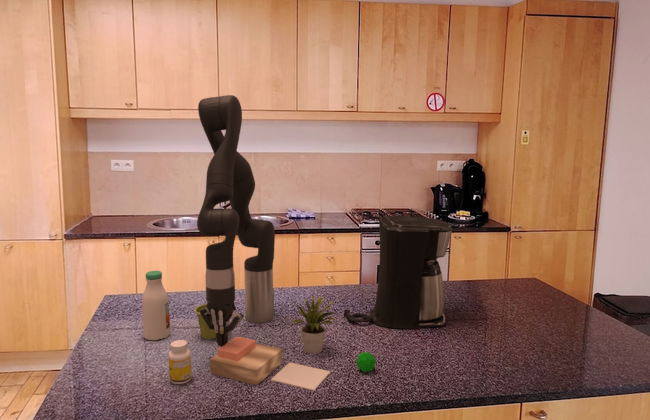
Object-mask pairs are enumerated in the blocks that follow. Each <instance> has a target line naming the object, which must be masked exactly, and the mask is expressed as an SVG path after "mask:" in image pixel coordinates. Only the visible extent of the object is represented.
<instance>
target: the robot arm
mask: <svg viewBox="0 0 650 420" xmlns="http://www.w3.org/2000/svg"><path fill="white" fill-rule="evenodd" d="M241 105H242V104H241V103H240V100H239V98H238V97H237V96H236V95H232V94H231V95H230V94H229V95H228V94H227V95H220V96H212V97H211V96H210V97H205V98H202V99H200V100H199V102H198V106H197V112H198V117H199V119H200V120H199V121H200V123H201V126H202V128H203V131H204V133H205V136H206V138H207V140H208V142H209V145H210V147H211V150H212V151H213V154H214V155H213V157H212V158H211V159H210V162H209V164H208V166H207V171H206V182H205V194H204V198H203V199H204V200H203V202H202V205H201V208H200V210H199V213H198V216H197V218H196V219H197V220H196V227H197V230H198V232H199V233H200V235H202V236H205V237H217V236H218V237H219V236H222V237H223V236H224V237H225V238H224V240H222V241H220V242H216V243H211V244H209V245H207V246H206V248H205V269H206V270H205V300H206V302H207V303H206V304H207V305H206V306H207V307H206V308H204V309H202V310H201V311H200V314H201V316H202V317H203V319H204V320H205V322H206V324H207V325H208V327H209V329H211V330H212V329H213V330H215V332H216V341H215V343H216V344H217V346H218V347H220V348H221V347H222V346H224V345H225V344H227V343H228V342H229V333H230V332H232V331H234V330H235V329H236V327H237V326H238V325H239V324H240V323H241V321H242V319H244V317H245V320H246V322H249V323H254V324H261V323H262V324H264V323H268V322H270V321H272V320H273V319H274V315H275V289H274V273H273V272H274V269H273V267H274V259H275V240H276V231H275V230H276V229H275V226H274V224H273V222H272V221H271V220H268V219H267V220H266V219H265V220H264V219H257V218H256V219H255V218H252V216H251V213H250V209H249V208H250V207H249V206H250V204H251V203H250V202H251V200H252V198H253V195H254V192H255V190H256V181H255V177H254V174H253V170H252V167H251V164H250V163H249V162H248V160H247V159H246V158H245V157H244V156H243V155H242V154H241V153H240V152H239V151H238V146H239V140H240V134H241V129H242V122H243V111H242V106H241ZM223 131H225V133H224V134H223ZM227 202H229V205H230V208H215V207H216V206H217V205H219V204H223V203H227ZM236 237H237V238H238V241H239V242H240V244H241V245H242V246H243V247H245V248H252V249H253V248H254V249H257V255H254V256H250V257H247V258H246V259H245V260H244V263H243V264H244V265H243V266H244V268H243V269H244V304H245V305H244V307H245V309H244V311H245V313H244V314H245V316H244V314H243V313H238V312H237V308H236V305H235V301H236V284H235V283H236V281H235V280H236V278H235V277H236V276H235V274H236V273H235V269H234V247H235V240H236ZM211 322H212V323H211Z"/></svg>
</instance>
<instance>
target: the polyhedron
mask: <svg viewBox="0 0 650 420" xmlns="http://www.w3.org/2000/svg"><path fill="white" fill-rule="evenodd" d="M356 359H357V360H356V363H355V364H356V366H357V368H358V369H360V370H361V371H362V372H364V373H367V372H368V373H369V372H371V371H372V370H373V369H375V366H376V362H377V361H376V358H375V356H374V355H372V353H370V352H367V351H366V352H364V351H363V352H361V353H360V354H358V356H357V358H356Z"/></svg>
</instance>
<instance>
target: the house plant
mask: <svg viewBox="0 0 650 420" xmlns="http://www.w3.org/2000/svg"><path fill="white" fill-rule="evenodd" d="M314 297H315V294H312V296H311V304H310V303H309V301H308V299H306V298H305V297H304V298H303V299H304V301H305V303H304V301H302V300H300V299H299V300H298V301H296V302H294V303H293V304H294V305H293V304H292V306H293V307H294V306H295V307H296V308H298V313H299V314H300V315H301V316H302V317H303V318H304V319H305V321H306V322H307V323H306V322H305V321H303V320H302V319H301V318H296V319H295V320H293V323H294V325H296V324H304V326H302V327H301V328H300V332H301V338H302V344H303V349H304V352H305V353H308V354H319V353H321V352H323V347H324V341H325V337H326V331H327V330H326V327H325V326H323V324H332V325H334V323H333V321H335V322H337V321H336V319H335V318H334V317H332V316H331V317H327V316H330V315H335V314H336V315H339V314H340V313H338V312H333V311H332V312H331V311H329V310H334V308H333V307H330V305H331V304H334V303H335V302H336V301H331V302H329V303H328V304H326V305H325V306H324V307H323V308H322V309H321V310H320V307H321V304H322V302H324V301H325V300H326V297H323V295H322V294H321V295H319V296H318V297H317V299H316V301H315V299H314ZM322 297H323V298H322ZM299 302H302V303H304V305H305V306H306V308H307V311H306V310H305V308H304V307H303V306H302V305H301V304H300V303H299ZM328 307H329V308H328Z"/></svg>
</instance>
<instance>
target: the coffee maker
mask: <svg viewBox="0 0 650 420" xmlns="http://www.w3.org/2000/svg"><path fill="white" fill-rule="evenodd" d="M378 225H379V229H378V231H379V272H378V280H377V289H376V298H375V305H374V307H373V309H370V311H369V314H366V313H360V312H359V313H357V312H356V313H352V314H351V309H347V308H345V309H344V311H343V317H344V318H346V319H347V320H348V321H350V322H353V323H369V322H373V323H374V325H376V326H380V327H386V328H391V329H401V330H402V329H403V330H404V329H405V330H406V329H408V330H409V329H411V330H416V329H417V330H418V329H419V328H434V327H435V328H436V327H442V326H444V325H445V324H446V320H447V319H446V316H445V314H444V304H445V303H444V301H445V297H444V296H445V295H444V280H443V274H442V273H443V272H442V271H441V270H442V269H441V266H440V263H439V261H438V259H439V258H443V257H445V256H446V254H447V251H448V247H449V244H450V240H451V236H452V229H453V227H454V226H453V225H452V224H450V223H448V222H446V221H444V220H440V219H437V218H431V217H423V216H408V215H405V216H404V215H390V216H383V217H380V218H379V221H378ZM356 317H362V318H356Z"/></svg>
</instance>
